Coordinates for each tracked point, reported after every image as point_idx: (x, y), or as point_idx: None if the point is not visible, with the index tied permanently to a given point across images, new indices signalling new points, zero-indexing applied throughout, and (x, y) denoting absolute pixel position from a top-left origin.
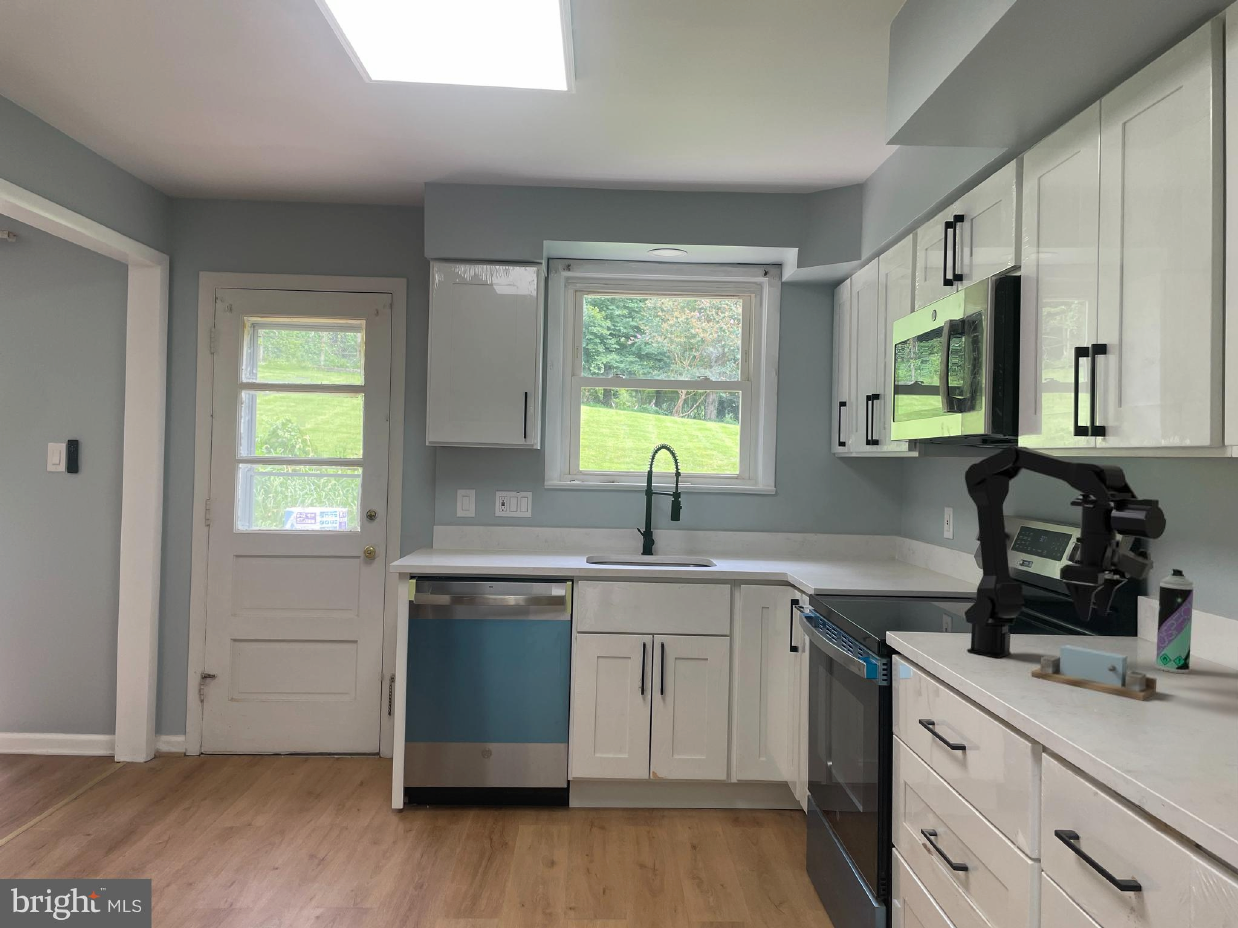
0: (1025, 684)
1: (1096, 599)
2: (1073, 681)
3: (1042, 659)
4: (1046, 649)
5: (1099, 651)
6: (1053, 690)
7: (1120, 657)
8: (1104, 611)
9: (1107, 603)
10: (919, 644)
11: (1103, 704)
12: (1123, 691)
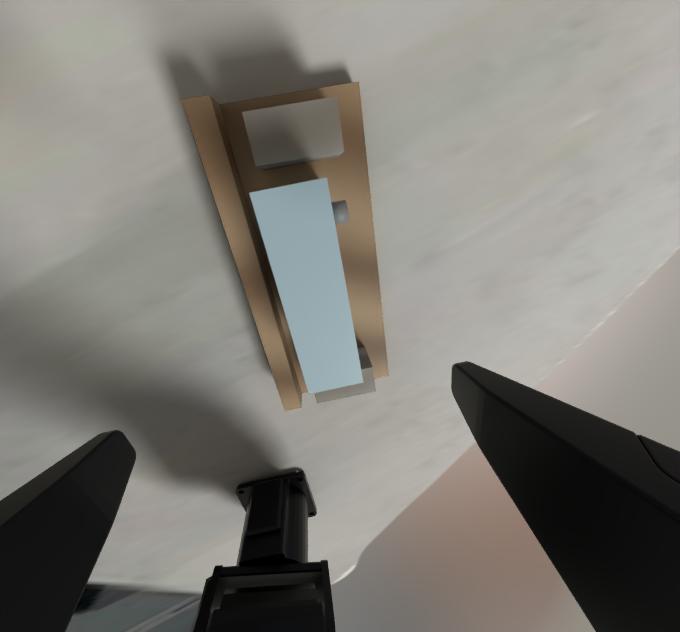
0: (467, 334)
1: (61, 608)
2: (379, 286)
3: (374, 385)
4: None
5: (292, 294)
6: (467, 279)
7: (315, 192)
8: (100, 461)
9: (24, 525)
10: (346, 551)
11: (504, 137)
12: (364, 149)
